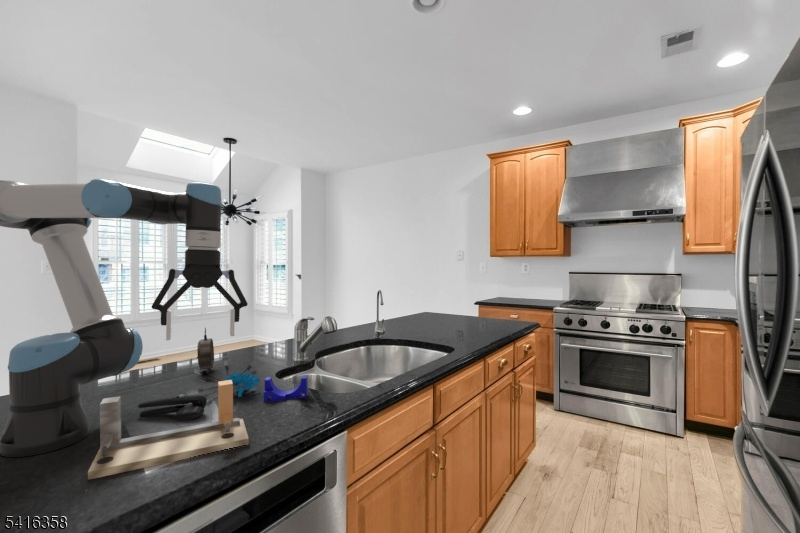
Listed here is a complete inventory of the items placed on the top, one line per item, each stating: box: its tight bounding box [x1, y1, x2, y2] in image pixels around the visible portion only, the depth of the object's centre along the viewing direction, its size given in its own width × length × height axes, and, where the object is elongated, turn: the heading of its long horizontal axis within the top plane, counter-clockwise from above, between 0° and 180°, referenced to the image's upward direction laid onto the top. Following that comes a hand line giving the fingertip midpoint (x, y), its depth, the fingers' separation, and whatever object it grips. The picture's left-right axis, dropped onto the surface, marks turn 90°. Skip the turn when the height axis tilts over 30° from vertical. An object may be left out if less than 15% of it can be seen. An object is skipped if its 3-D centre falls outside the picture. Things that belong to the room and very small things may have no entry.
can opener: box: [137, 394, 208, 421], centre depth 101 cm, size 18×7×6 cm, turn 89°
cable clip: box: [263, 375, 309, 403], centre depth 113 cm, size 12×4×6 cm, turn 98°
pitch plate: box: [87, 396, 250, 481], centre depth 83 cm, size 28×12×12 cm, turn 118°
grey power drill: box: [196, 327, 215, 375], centre depth 141 cm, size 11×5×16 cm, turn 22°
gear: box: [223, 371, 260, 398], centre depth 115 cm, size 11×6×10 cm
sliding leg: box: [217, 380, 234, 432], centre depth 88 cm, size 3×8×9 cm, turn 28°
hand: (201, 337), depth 92 cm, fingers open, 13 cm apart
